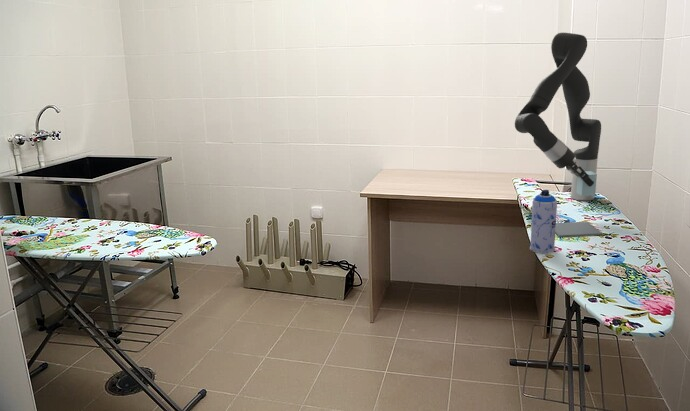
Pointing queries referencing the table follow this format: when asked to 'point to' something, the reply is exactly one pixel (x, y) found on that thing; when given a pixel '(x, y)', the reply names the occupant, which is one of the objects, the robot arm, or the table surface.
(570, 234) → the mat
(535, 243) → the aerosol can
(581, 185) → the block
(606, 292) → the table surface
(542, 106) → the robot arm
